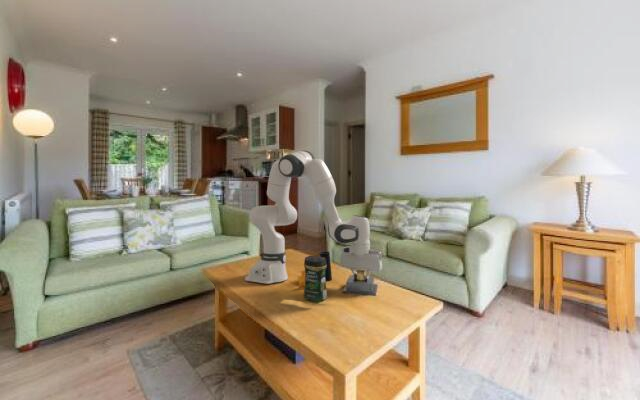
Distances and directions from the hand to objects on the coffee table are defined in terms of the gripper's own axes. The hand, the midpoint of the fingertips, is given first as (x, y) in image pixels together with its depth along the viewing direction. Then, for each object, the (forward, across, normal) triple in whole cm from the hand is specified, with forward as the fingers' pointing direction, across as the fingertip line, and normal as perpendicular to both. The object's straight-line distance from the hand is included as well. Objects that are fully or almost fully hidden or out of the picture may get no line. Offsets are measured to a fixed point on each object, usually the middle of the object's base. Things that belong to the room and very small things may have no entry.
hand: (360, 278), depth 136 cm
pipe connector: (+6, +22, -1) cm, 23 cm away
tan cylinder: (+4, 0, +1) cm, 4 cm away
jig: (+5, 0, 0) cm, 5 cm away
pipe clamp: (+6, +27, +8) cm, 29 cm away
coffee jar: (+6, +13, +22) cm, 26 cm away
